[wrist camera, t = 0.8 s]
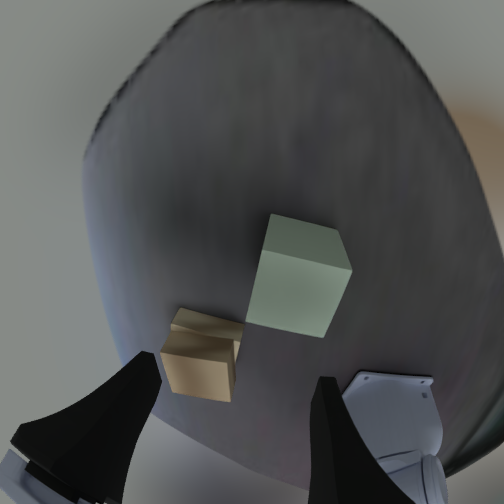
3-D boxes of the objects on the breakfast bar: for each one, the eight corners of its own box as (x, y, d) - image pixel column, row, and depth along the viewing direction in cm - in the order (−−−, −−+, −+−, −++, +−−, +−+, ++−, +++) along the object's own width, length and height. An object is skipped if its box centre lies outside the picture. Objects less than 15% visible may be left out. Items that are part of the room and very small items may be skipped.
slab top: (233, 338, 20) (227, 362, 18) (235, 379, 23) (230, 402, 20) (171, 330, 21) (160, 352, 19) (181, 371, 23) (172, 391, 21)
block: (337, 229, 18) (352, 270, 13) (318, 286, 20) (323, 338, 15) (270, 213, 18) (262, 249, 13) (257, 272, 20) (245, 321, 15)
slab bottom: (245, 321, 23) (240, 342, 20) (235, 363, 25) (230, 383, 23) (181, 304, 23) (171, 323, 21) (179, 348, 25) (171, 366, 23)
